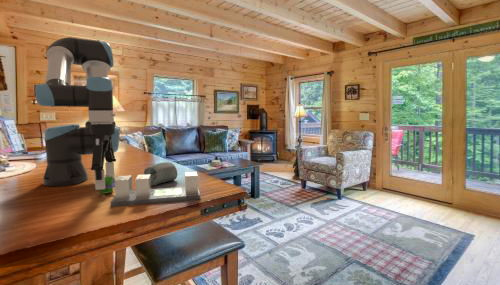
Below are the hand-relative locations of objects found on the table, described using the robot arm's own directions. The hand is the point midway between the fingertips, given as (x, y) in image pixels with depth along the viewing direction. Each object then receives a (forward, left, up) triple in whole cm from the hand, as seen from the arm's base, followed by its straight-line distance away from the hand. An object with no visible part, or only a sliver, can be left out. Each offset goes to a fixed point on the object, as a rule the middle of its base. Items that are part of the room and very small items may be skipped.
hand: (105, 184), depth 93 cm
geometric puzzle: (0, 0, -4) cm, 4 cm away
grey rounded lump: (-10, +18, -4) cm, 21 cm away
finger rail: (+9, +18, -4) cm, 20 cm away
